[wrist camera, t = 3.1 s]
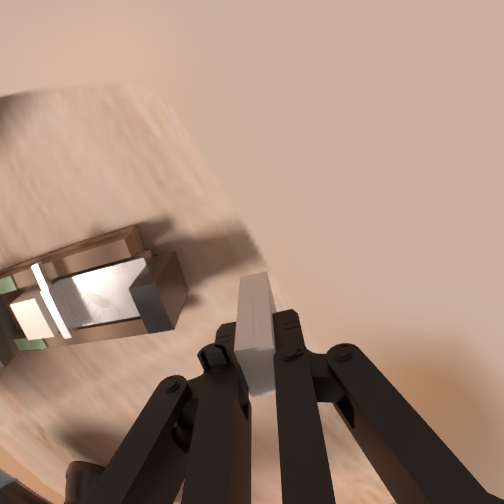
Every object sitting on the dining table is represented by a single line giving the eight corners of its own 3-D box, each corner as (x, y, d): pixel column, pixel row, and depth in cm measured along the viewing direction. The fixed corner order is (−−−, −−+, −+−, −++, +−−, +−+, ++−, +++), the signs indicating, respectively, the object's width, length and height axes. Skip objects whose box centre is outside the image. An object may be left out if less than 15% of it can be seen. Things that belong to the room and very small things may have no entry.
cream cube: (47, 319, 28) (28, 340, 24) (30, 286, 26) (9, 304, 22) (72, 314, 27) (54, 336, 23) (56, 279, 26) (34, 298, 22)
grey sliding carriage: (80, 318, 27) (53, 353, 22) (50, 252, 25) (14, 278, 19) (191, 296, 26) (177, 336, 21) (163, 216, 24) (138, 240, 18)
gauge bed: (20, 339, 30) (-4, 367, 24) (-12, 275, 27) (-43, 297, 21) (170, 315, 28) (154, 355, 23) (136, 224, 25) (107, 248, 20)
